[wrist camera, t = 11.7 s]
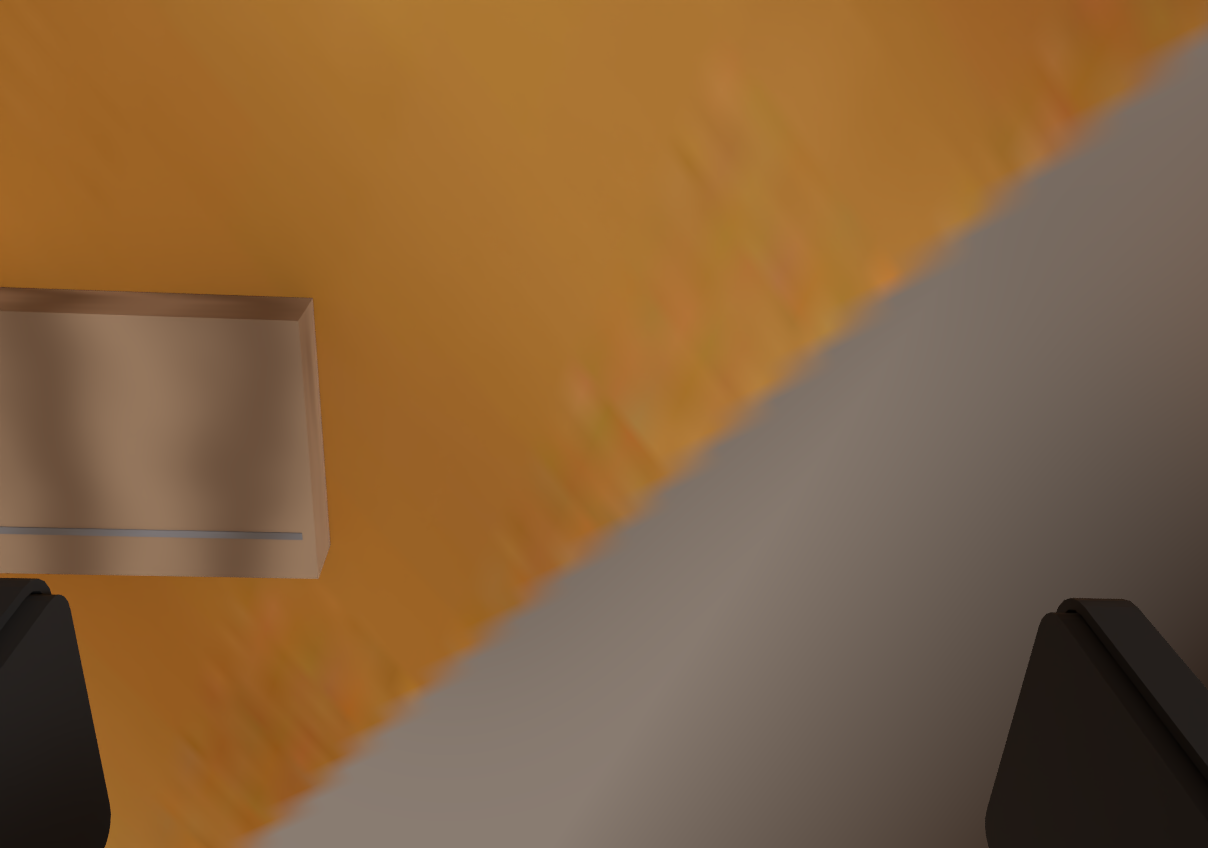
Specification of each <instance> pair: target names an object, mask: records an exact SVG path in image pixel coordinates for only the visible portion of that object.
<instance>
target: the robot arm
mask: <svg viewBox="0 0 1208 848" xmlns="http://www.w3.org/2000/svg"><path fill="white" fill-rule="evenodd" d="M110 819H111V811H110V803H109V798H108V794H107V789H106V784H105V779H104V774H103V769H102V764H101V759H100V754H99V749H98V744H97V739H96V734H95V729H94V724H93V719H92V714H91V709H90V704H89V699H88V694H87V689H86V684H85V679H84V674H83V669H82V665H81V660H80V655H79V650H78V645H77V640H76V635H75V630H74V625H73V620H72V615H71V610H70V607H69V603H68V601H67V600H66V598H65V597H64V596H62V595H51V591H50V588H49V587H48V586H47V584H46V583H45V581H42V580H40V579H28V578H0V848H104V847H105V845H106V842H107V838H108V834H109V829H110ZM985 829H986V837H987V842H988V846H989V848H1208V690H1207V689H1206V687H1204V685H1203V684H1202V683H1201V681H1200V680H1199V679H1198V678H1197V677H1196V676H1195V674H1194V673H1193V672H1192V671H1191V670H1190V669H1189V667H1188V666H1187V665H1186V664H1185V663H1184V662H1183V660H1182V659H1181V658H1180V657H1179V656H1178V654H1177V653H1176V652H1175V651H1174V650H1173V649H1172V647H1171V646H1170V645H1169V644H1168V643H1167V641H1166V640H1165V639H1164V638H1163V637H1162V636H1161V634H1160V633H1159V632H1158V631H1157V630H1156V629H1155V627H1154V626H1153V625H1152V624H1151V623H1150V621H1149V620H1148V619H1147V618H1146V617H1145V615H1144V614H1143V613H1142V612H1141V611H1140V610H1139V608H1138V607H1136V606H1135V605H1134V604H1133V603H1132V602H1131V601H1128V600H1124V599H1091V598H1070V599H1067V600H1064V601H1063V602H1062V603H1061V605H1060V606H1059V607H1058V609H1057V612H1056V613H1048V614H1046V615H1045V616H1044V617H1043V619H1042V620H1041V623H1040V625H1039V628H1038V632H1037V635H1036V639H1035V643H1034V646H1033V649H1032V653H1031V656H1030V660H1029V664H1028V667H1027V670H1026V674H1025V678H1024V681H1023V685H1022V688H1021V692H1020V695H1019V699H1018V702H1017V706H1016V709H1015V713H1014V716H1013V720H1012V723H1011V727H1010V730H1009V734H1008V737H1007V741H1006V745H1005V748H1004V752H1003V755H1002V758H1001V762H1000V765H999V769H998V773H997V776H996V780H995V783H994V787H993V790H992V794H991V797H990V801H989V804H988V808H987V812H986V818H985Z"/></svg>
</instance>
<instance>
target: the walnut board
mask: <svg viewBox="0 0 1208 848" xmlns="http://www.w3.org/2000/svg"><path fill="white" fill-rule="evenodd" d="M329 547H330V534H329V520H328V506H327V492H326V478H325V464H324V450H323V436H322V422H321V408H320V394H319V379H318V365H317V351H316V337H315V323H314V309H313V298H294V297H265V296H237V295H208V294H179V293H150V292H121V291H93V290H64V289H35V288H6V287H0V573H32V574H87V575H142V576H197V577H252V578H306V579H319V576H320V573H321V570H322V567H323V564H324V562H325V559H326V556H327V553H328V550H329Z"/></svg>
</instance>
